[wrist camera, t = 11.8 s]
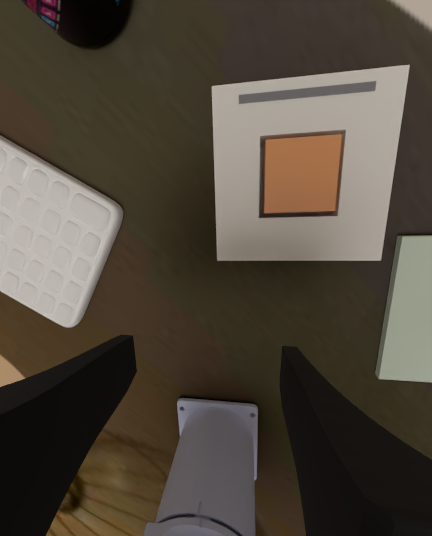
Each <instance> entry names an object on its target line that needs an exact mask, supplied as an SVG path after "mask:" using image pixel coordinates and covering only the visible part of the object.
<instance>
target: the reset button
mask: <svg viewBox="0 0 432 536" xmlns="http://www.w3.org/2000/svg"><path fill="white" fill-rule="evenodd" d="M341 140H342V134H337V135H323V136H310V137H296V138H282V139H268V140H266V141H265V145H264V149H263V172H262V213H287V212H321V211H335V205H336V194H337V183H338V172H339V162H340V151H341Z"/></svg>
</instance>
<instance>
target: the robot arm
mask: <svg viewBox="0 0 432 536" xmlns="http://www.w3.org/2000/svg"><path fill="white" fill-rule="evenodd" d="M136 372H137V369H136V359H135V350H134V341H133V336H130V335H120V336H117V337H115V338H113V339H111V340H109V341H107V342H105V343H103V344H101V345H99V346H97V347H95V348H93V349H91V350H89V351H87V352H85V353H83V354H81V355H79V356H77V357H74V358H72V359H70V360H68V361H66V362H64V363H62V364H59V365H57V366H55V367H53V368H51V369H48V370H46V371H43V372H41V373H38V374H36V375H33V376H31V377H28V378H26V379H23V380H20V381H17V382H14V383H11V384H8V385H5V386H2V387H0V536H46V534H47V532H48V530H49V528H50V526H51V523H52V521H53V519H54V517H55V515H56V513H57V511H58V509H59V507H60V505H61V503H62V501H63V499H64V497H65V495H66V493H67V491H68V489H69V487H70V485H71V483H72V481H73V479H74V477H75V475H76V474H77V472H78V470H79V468H80V466H81V464H82V462H83V461H84V459H85V457H86V455H87V453H88V451H89V450H90V448H91V446H92V445H93V443H94V441H95V440H96V438H97V436H98V435H99V433H100V432H101V430H102V429H103V427H104V426H105V424H106V423H107V421H108V420H109V418H110V417H111V415H112V414H113V412H114V411H115V409H116V408H117V406H118V405H119V403H120V401H121V400H122V398H123V397H124V395H125V394H126V392H127V390H128V388H129V386H130V384H131V383H132V380H133V378H134V376H135V374H136ZM280 392H281V401H282V408H283V413H284V417H285V421H286V426H287V430H288V434H289V439H290V443H291V447H292V452H293V456H294V460H295V465H296V470H297V475H298V481H299V488H300V494H301V501H302V508H303V515H304V522H305V530H306V536H432V460H431V459H429V458H428V457H426V456H425V455H423V454H421V453H420V452H418V451H417V450H415V449H414V448H412V447H411V446H409V445H407V444H406V443H404V442H403V441H401V440H400V439H398V438H397V437H396V436H394V435H393V434H391V433H390V432H389V431H387V430H386V429H384V428H383V427H382V426H380V425H379V424H377V423H376V422H375V421H373V420H372V419H371V418H369V417H368V416H367V415H366V414H364V413H363V412H362V411H361V410H359V409H358V408H357V407H356V406H354V405H353V404H352V403H351V402H350V401H348V400H347V399H346V398H345V397H344V396H343V395H342V394H341V393H340V392H338V391H337V390H336V389H335V388H334V387H333V386H332V385H331V384H330V383H329V382H328V381H327V380H326V379H325V378H324V377H323V376H322V375H321V374H320V373H319V372H318V371H317V370H316V369H315V367H314V366H313V365H312V364H311V363H310V362H309V361H308V360H307V359H306V357H305V356H304V355H303V354H302V353H301V352H300V351H299V349H298V348H297V347H289V346H282V357H281V371H280ZM182 407H184V408H182ZM177 409H178V421H179V432H180V439H179V443H178V446H177V449H176V453H175V456H174V459H173V463H172V466H171V469H170V473H169V476H168V479H167V483H166V486H165V489H164V493H163V496H162V499H161V503H160V506H159V509H158V513H157V516H156V519H155V523H151V522H148V523H147V525H146V528H145V531H144V534H143V536H255V498H254V480H256V479H257V436H258V407H257V406H256V405H255V404H248V403H237V402H225V401H213V400H201V399H189V398H180V399H179V400H178V402H177ZM251 413H254V414H251Z"/></svg>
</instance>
